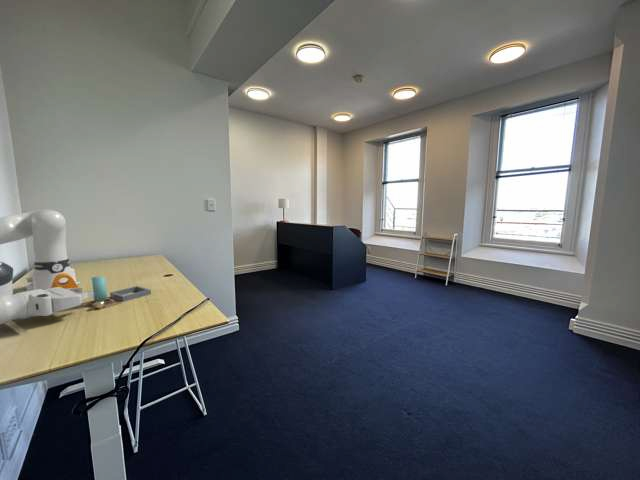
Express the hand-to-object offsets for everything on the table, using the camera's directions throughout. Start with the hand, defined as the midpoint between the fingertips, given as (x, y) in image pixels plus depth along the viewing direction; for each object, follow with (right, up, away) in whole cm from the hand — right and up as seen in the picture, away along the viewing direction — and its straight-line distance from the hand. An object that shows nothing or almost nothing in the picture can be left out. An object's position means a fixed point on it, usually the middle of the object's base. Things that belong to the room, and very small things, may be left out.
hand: (86, 291), depth 100 cm
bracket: (-18, -7, +10) cm, 21 cm away
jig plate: (+2, -7, +5) cm, 9 cm away
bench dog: (+5, -6, 0) cm, 8 cm away
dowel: (+2, -6, +5) cm, 8 cm away
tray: (+7, -6, +14) cm, 17 cm away
